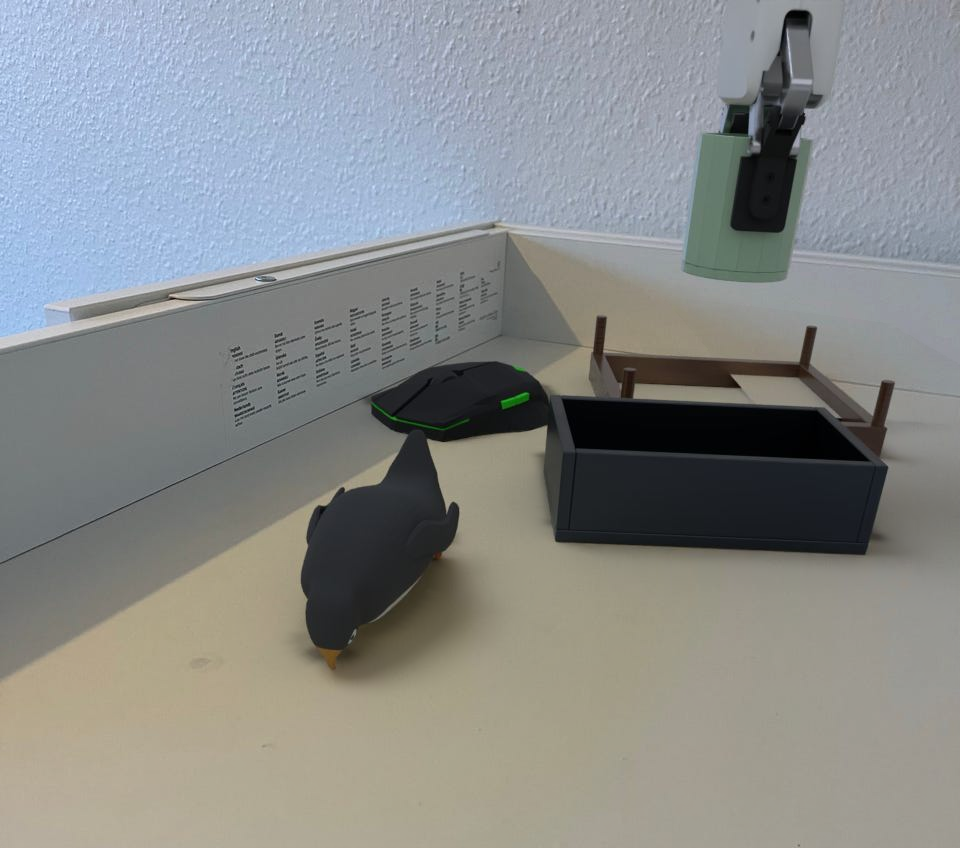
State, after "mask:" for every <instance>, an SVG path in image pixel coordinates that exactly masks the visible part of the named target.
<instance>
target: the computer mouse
mask: <svg viewBox="0 0 960 848" xmlns="http://www.w3.org/2000/svg"><path fill="white" fill-rule="evenodd" d="M370 398H371V399H370V400H371V404H370V405H371V415H372V416H373V417H374V418H376V419H377V420H378V421H379V422H381V423H382V424H383V425H385V426H386V427H387V428H388V429H390V430H393V431H394V432H399V433H404V434H407V435H409V433H410V432H411V431H413V430H421V431H423V432H424V434H425V436H426V439H430V440H434V441H439V442H447V441H453V440H459V439H465V438H470V437H474V436H481V435H491V434H497V433H499V434H500V433H511V431H513V432H523V431H522V430H524V431H530V429H531V430H534V429H537V428H540V427H543V426H547V424H548V412H549V400H550V398H549V395H548V393H547V392H546V391H545V389H544V387H543V386H542V384H541V383H540V381H539V380H538V379H537V378H536V377H534V376H533V375H532V374H531V373H529V372H528V371H527V370H526V369H525V368H522V367H518V366H515V365H512V364H508V363H505V362H502V361H501V362H500V361H497V360H495V361H494V360H492V361H489V360H488V361H466V362H458V363H457V362H456V363H450V364H443V365H442V364H441V365H437V366H432V367H428V368H425V369H423V370H420V371H418V372H417V373H415V374H414V375H412V376H410V377H408V378H407V379H405V380H404V381H402V382H400V383H399V384H398V385H396V386H394V387H391V388H388V389H386V390H383V391H381V392H379V393H376V394H374V395H372V396H370ZM542 425H543V426H542ZM539 426H540V427H539ZM536 427H537V428H536ZM533 428H534V429H533Z"/></svg>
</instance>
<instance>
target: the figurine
mask: <svg viewBox="0 0 960 848" xmlns="http://www.w3.org/2000/svg"><path fill="white" fill-rule="evenodd" d="M460 513H461V512H460V507H459V504H458V503H457V502H456V501H452V502H450V503H449V506H448V508H447V507H446V502H445V499H444V495H443V492H442V488H441V486H440V482H439V477H438V471H437V467H436V465H435V462H434V460H433V456H432V453H431V450H430V446H429V443H428V438H426V436H425V434H424V432H423V431H421V430H413V431H411V432H410V433H409V434H407V436H406V438H405V440H404V441H403V444H402V445H401V447H400V449H399V450H398V453H397V455H396V456H395V457H394V459H393V461H392V463H390V466H389V468H388V470H387V472H386V474H385V476H384V477H383V479H382V480H381V481H380V482H379V483H377V484H372V485H363V486H359V487H354V488H351V489H348V490H346V488H345V487H344V486H341V487H340V488H339V489H338V490H337V491H336V493H334V495H333V497H332V498H331V500H330V501H329V503H327V504H325V505H321V504H318V505H317V506H315V508H314V510H313V512H312V514H311V516H310V519H309V521H308V524H307V530H306V534H305V535H306V537H305V540H306V544H307V549H306V552H305V554H304V559H303V562H302V566H301V571H300V585H301V590H302V592H303V594H304V597H306V599H307V600H306V603H305V612H304V614H305V615H304V616H305V625H306V629H307V632H308V635H309V638H310V640H311V642H312V644H313V645H314V646H315V648H316V649H317V650H318V651H319V652H320V653H321V655H322V656H323V658H324V660H325V661H326V663H327V665H328V668H330V669H331V670H335V669H336V661H337V657H338V656H339V654H340V653H342V652H343V650H345V649H346V648H347V647H349V646H350V645H351V643H353V641H354V640H355V638H356V636H357V634H358V630H359V628H360V627H361V626H363V625H367V624H370V623H372V622H376V621H377V620H379V619H380V618H382V617H383V616H385V615H386V614H388V612H389V611H391V610H392V609H393V608H394V607H395V606H396V605H397V604H398V603H399V602H401V600H402V599H403V598H404V597H405V596H407V594H408V593H409V592H410V591H411V590H412V589H413V587H414V586H415V585H416V584H417V583H418V582H419V580H420V579H421V577H422V576H423V575H424V573H425V572H426V571H427V569H428V567H429V565H430V564H431V563H432V561H433V559H434V558H435V559H436V560H440V559H441V558H442V557H443V553H444V552H445V551H447V549H449V548H450V546H451V545H452V543H453V542H454V540H455V538H456V534H457V531H458V527H459V521H460Z"/></svg>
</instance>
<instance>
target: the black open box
mask: <svg viewBox="0 0 960 848" xmlns="http://www.w3.org/2000/svg"><path fill="white" fill-rule="evenodd" d="M837 418H838V417H836V416H834V415H833V414H832V413H831V412H830V411H829V410H828V409H827V408H826V407H824V406H804V405H802V406H801V405H785V404H784V405H781V404H780V405H779V404H758V403H741V402H740V403H737V402H721V401H720V402H719V401H717V402H715V401H696V400H695V401H694V400H674V399H656V398H655V399H654V398H634V397H633V398H612V397H596V396H589V395H588V396H587V395H565V394H564V395H563V394H550V395H549V412H548V424H546V440H545V449H544V450H545V451H544V463H543V478H544V482H545V490H546V495H547V501H548V506H549V512H550V513H549V514H550V518H551V525H552V531H553V537H554V541H555V542H569V543H593V544H611V545H612V544H614V545H638V546H660V547H661V546H662V547H682V548H685V547H686V548H706V549H707V548H708V549H709V548H710V549H730V550H751V551H752V550H753V551H756V550H757V551H777V552H779V551H780V552H801V553H822V554H823V553H826V554H848V555H866V554H867V551H868V548H869V543H870V541H871V537H872V533H873V529H874V525H875V521H876V517H877V513H878V510H879V506H880V502H881V498H882V494H883V490H884V487H885V483H886V478H887V476H888V471H889V466H888V465H887V464H886V463H885V462H884V460H882V459H881V457H880V458H879V457H878V456H877V455H875V454H874V453H873V452H872V451H871V450H870V449H869V448H868V447H867V446H866V445H865V444H864V443H863V442H861V441H860V440H859V439H858V438H857V437H856V436H855V435H854V434H853V433H852V432H851V431H850V430H848V429H847V428H846V427H845V426H844V425H843V424H842V423H841V422H840V421H839V420H838V419H837Z"/></svg>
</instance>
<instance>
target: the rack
mask: <svg viewBox="0 0 960 848" xmlns="http://www.w3.org/2000/svg"><path fill="white" fill-rule="evenodd" d="M607 322H608V316H606V315H602V314H601V315H596V317H595V328H594V338H593V349H592V351H591V352H590V361H589V370H588V371H589V372H588V380H589V381H590V384H591V387H592V389H593V392H594V394H595V397H612V398H634V395H635V387H636V383H637V384H657V385H677V386H678V385H679V386H701V387H721V388H723V387H724V388H742V386H741V385H740V384H739V382H738V381H736V379H735V378H733V376H732V375H734V376H735V375H736V376H737V375H739V376H757V377H778V378H798V379H799V381H801V382H802V383H803V384H804V385H805V386H806V387H807V388H808V389H809V390H811V391H812V392H813V393H814V394H815V395H816V396H817V397H818V398H819V399H821V401H823V402H824V403H825V404H826V405H827V406H828V407H829V408H830V409H832V410H833V411H834V412H835V413H836V414H837V415H838V416H839V417H836V418H837V419H838V420H839V421H840V422H841V423H842V424H843V425H844V426H845V427H846V428H847V429H848V430H850V431H851V432H852V433H853V434H854V435H855V436H856V437H857V438H858V439H859V440H860V441H861V442H863V443H864V444H865V445H866V446H867V447H868V448H869V449H870V450H871V451H872V452H873V453H874V454H875V455H877V456H878V457H879V458H880V459H881V455H882V450H883V447H884V442H885V440H886V435H887V431H888V427H887V426H885V424H886V421H887V416H888V413H889V409H890V405H891V401H892V397H893V393H894V389H895V385H896V382H895V381H894V380H890V379H882V380H881V381H880V386H879V390H878V395H877V398H876V402H875V406H874V411H873V414H871V413H870V412H869V411H868V410H867V409H865V407H863V406H861V404H859V403H858V402H857V401H856V400H854V399H853V398H852V397H851V396H850V395H849V394H847V393H846V392H844V391H843V390H842V389H841V388H840V387H838V385H836V383H834V382H833V381H832V380H830V379H829V378H828V377H827V376H825V374H823V373H822V372H821V371H820V370H818V368H816V367H815V366H813V364H811V359H812V356H813V352H814V347H815V341H816V340H815V339H816V336H817V330H818V326H816V325H806V327H805V333H804V337H803V341H802V347H801V352H800V356H799V360H798V361H792V360H791V361H790V360H788V361H787V360H768V359H751V358H750V359H749V358H747V359H745V358H731V357H730V358H729V357H728V358H726V357H710V356H709V357H706V356H688V355H687V356H686V355H685V356H684V355H665V354H644V353H643V354H642V353H625V352H623V353H622V352H621V353H620V352H604V351H605V340H606V333H607V332H606V331H607ZM619 383H621V387H620V385H619Z"/></svg>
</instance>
